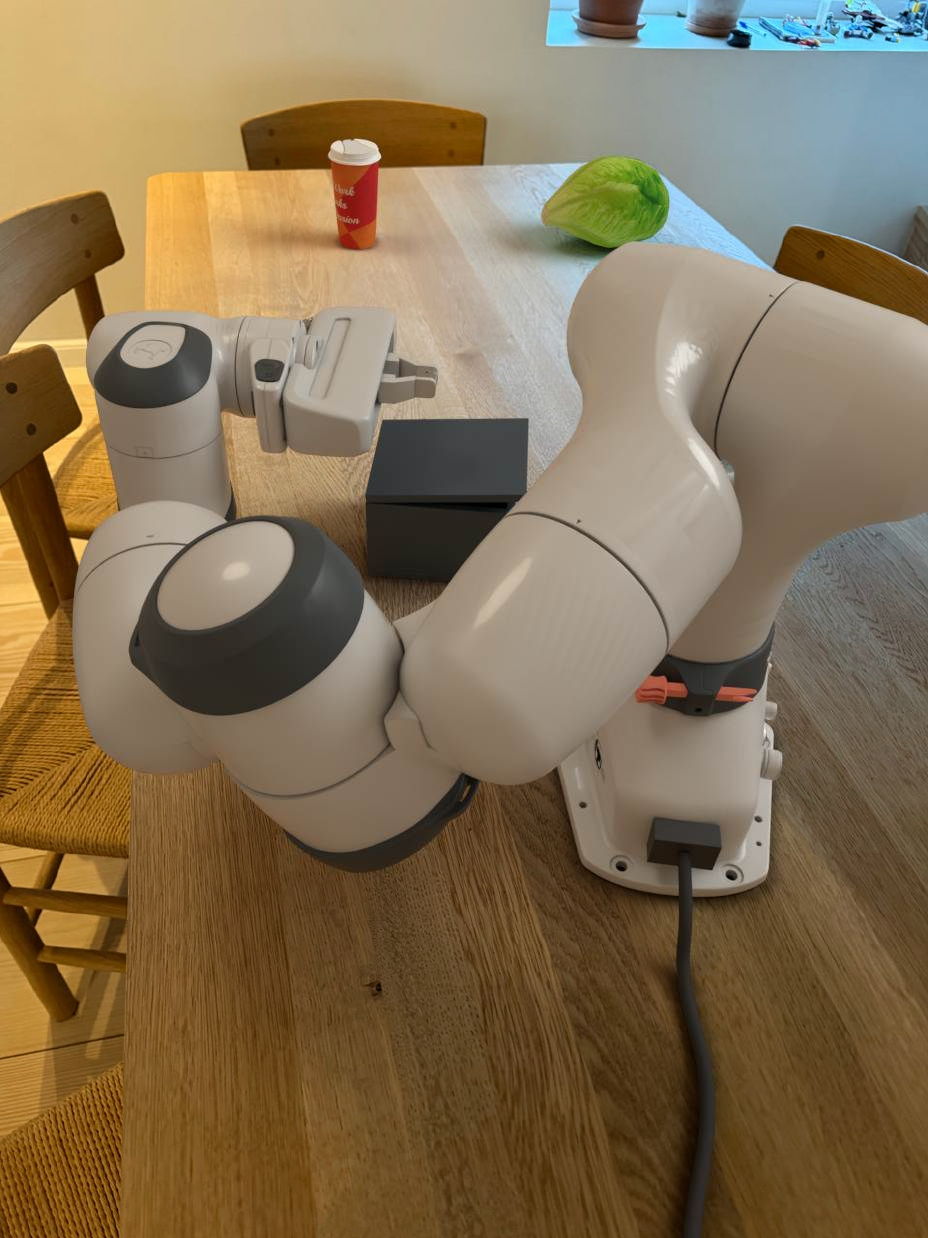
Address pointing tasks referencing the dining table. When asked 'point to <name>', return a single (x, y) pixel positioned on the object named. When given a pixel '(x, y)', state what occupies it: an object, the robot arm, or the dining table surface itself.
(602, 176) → the lettuce
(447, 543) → the chest
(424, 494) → the chest lid
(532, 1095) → the dining table surface
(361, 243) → the paper cup
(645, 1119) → the dining table surface
